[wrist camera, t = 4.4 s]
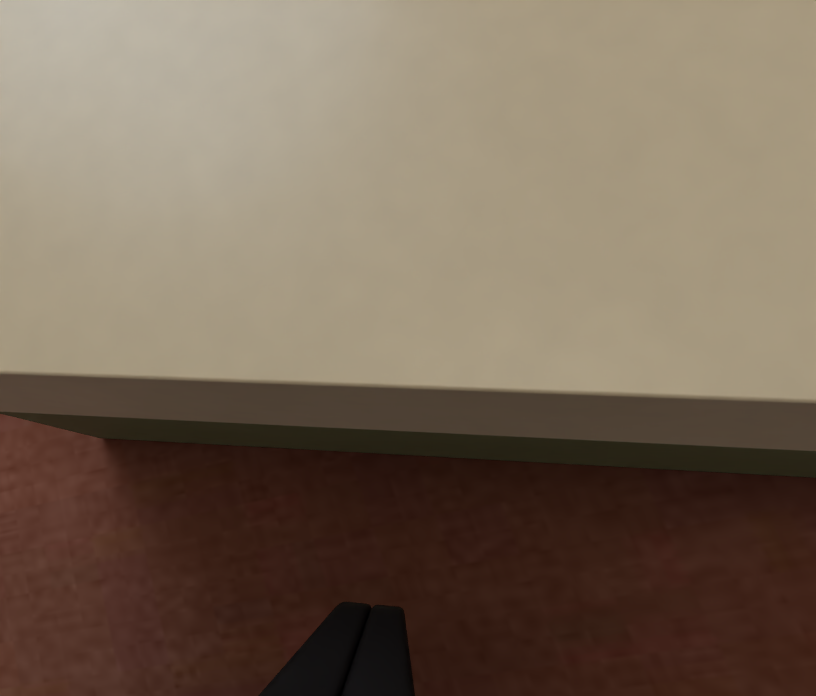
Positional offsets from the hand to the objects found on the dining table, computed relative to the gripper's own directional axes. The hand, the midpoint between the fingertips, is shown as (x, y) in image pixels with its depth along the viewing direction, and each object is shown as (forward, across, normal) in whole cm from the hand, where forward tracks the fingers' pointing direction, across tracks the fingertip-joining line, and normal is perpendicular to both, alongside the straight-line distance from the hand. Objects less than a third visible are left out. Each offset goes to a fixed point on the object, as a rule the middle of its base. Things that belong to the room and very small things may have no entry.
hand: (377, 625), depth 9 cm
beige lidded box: (+13, 0, -2) cm, 14 cm away
